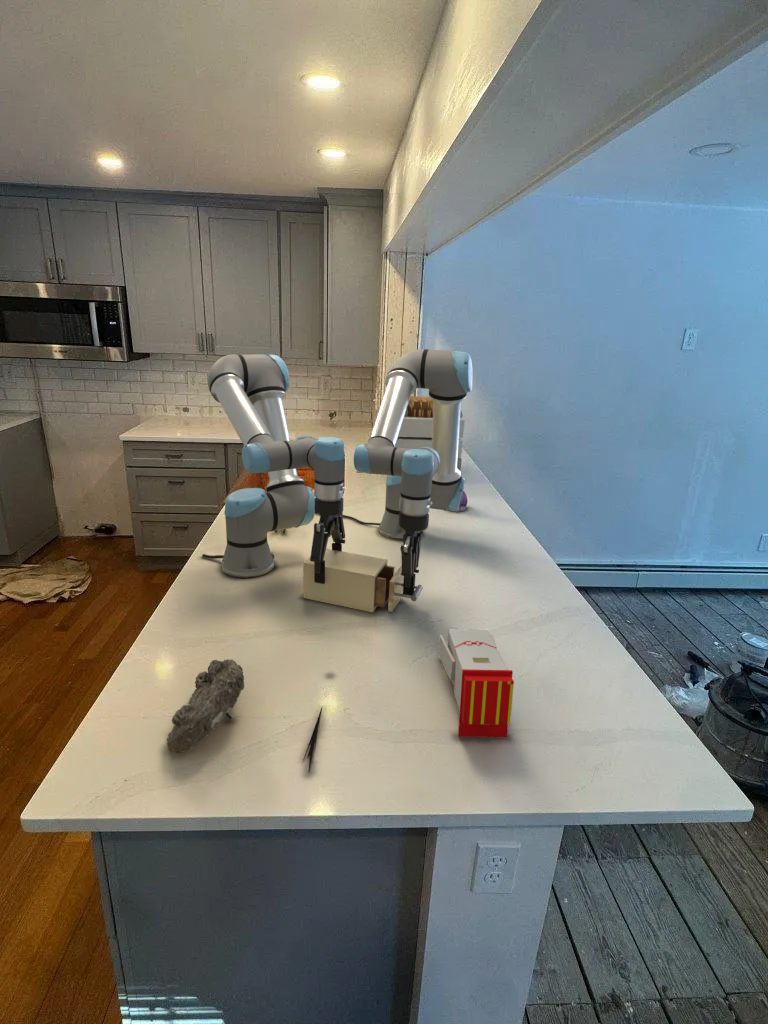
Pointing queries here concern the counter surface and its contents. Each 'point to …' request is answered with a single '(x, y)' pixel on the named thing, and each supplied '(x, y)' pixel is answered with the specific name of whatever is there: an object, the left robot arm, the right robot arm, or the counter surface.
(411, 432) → the transformer
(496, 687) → the toy
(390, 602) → the drawer
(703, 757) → the counter surface
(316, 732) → the feather
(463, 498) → the figurine
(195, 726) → the fossil
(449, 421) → the right robot arm
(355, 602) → the cabinet
